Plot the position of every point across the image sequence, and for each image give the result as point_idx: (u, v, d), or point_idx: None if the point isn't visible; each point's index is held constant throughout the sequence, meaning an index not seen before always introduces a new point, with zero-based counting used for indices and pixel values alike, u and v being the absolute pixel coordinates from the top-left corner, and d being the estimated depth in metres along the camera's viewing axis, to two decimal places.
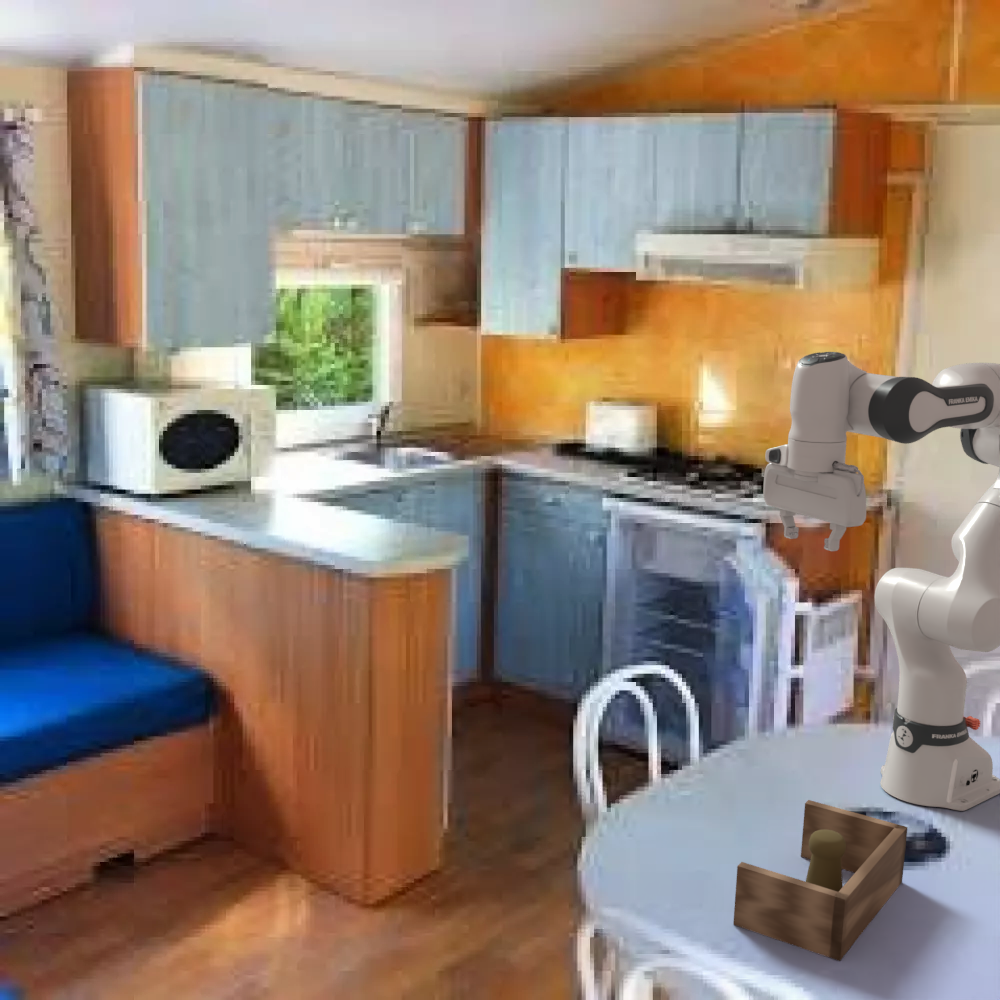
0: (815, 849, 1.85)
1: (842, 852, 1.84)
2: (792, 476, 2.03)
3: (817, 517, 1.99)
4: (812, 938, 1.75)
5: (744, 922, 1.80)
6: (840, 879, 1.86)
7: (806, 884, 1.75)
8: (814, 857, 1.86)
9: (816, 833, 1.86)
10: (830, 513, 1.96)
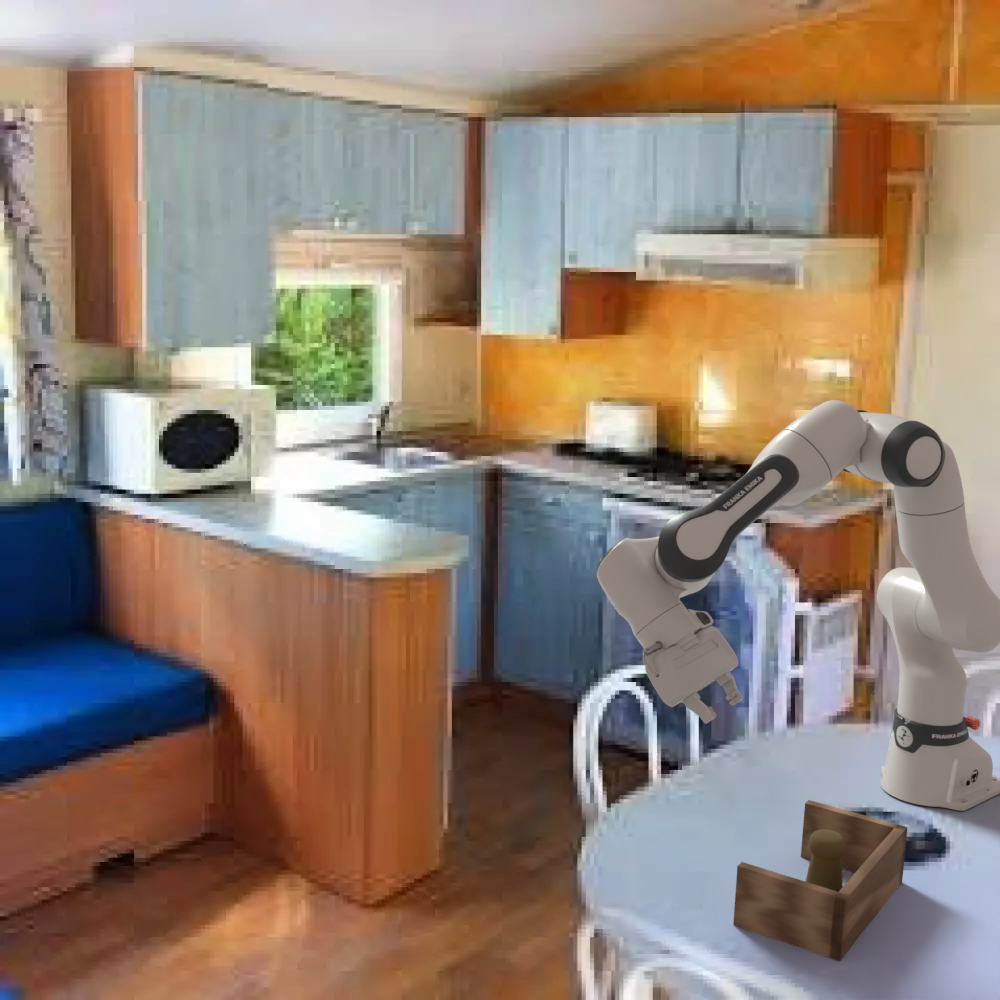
0: (815, 850, 1.85)
1: (842, 852, 1.84)
2: None
3: None
4: (812, 938, 1.75)
5: (744, 922, 1.80)
6: (840, 879, 1.86)
7: (806, 884, 1.75)
8: (814, 857, 1.86)
9: (816, 833, 1.86)
10: None
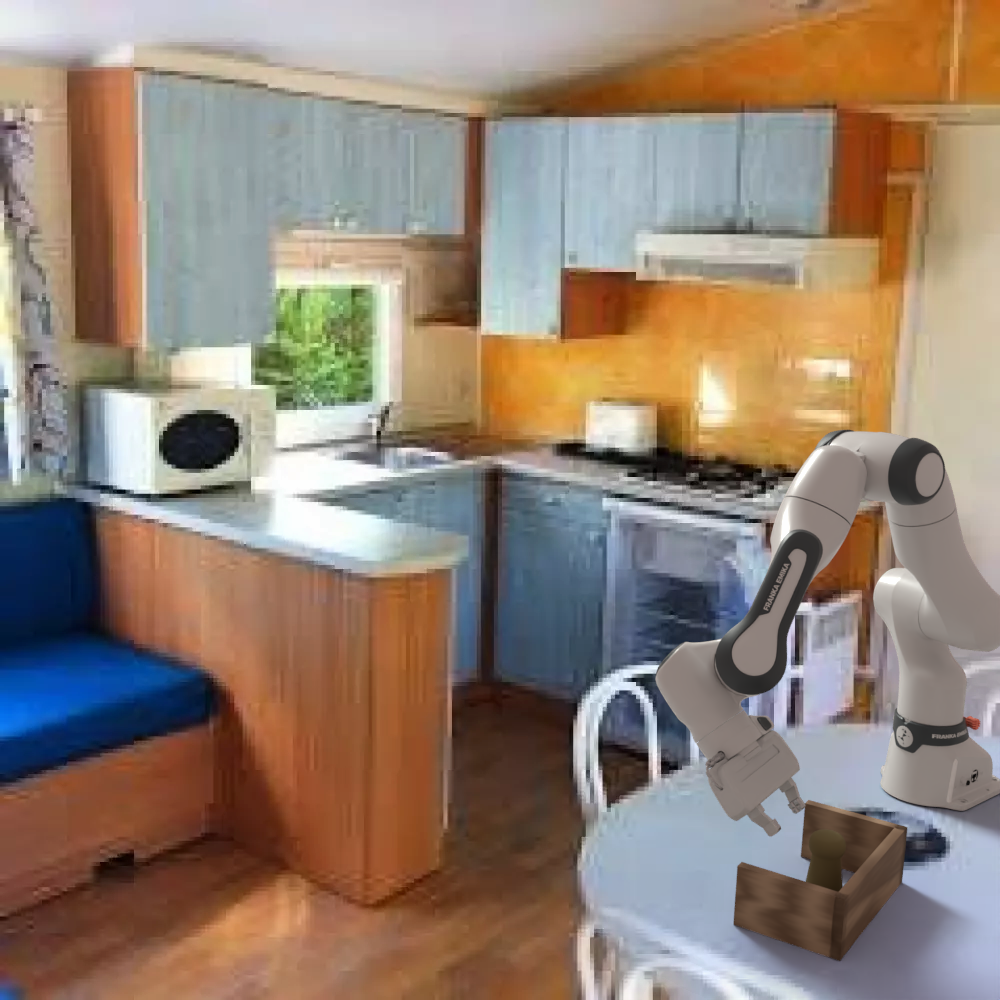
0: (815, 849, 1.85)
1: (842, 852, 1.84)
2: None
3: None
4: (812, 938, 1.75)
5: (744, 922, 1.80)
6: (840, 879, 1.86)
7: (806, 884, 1.75)
8: (814, 857, 1.86)
9: (816, 833, 1.86)
10: None
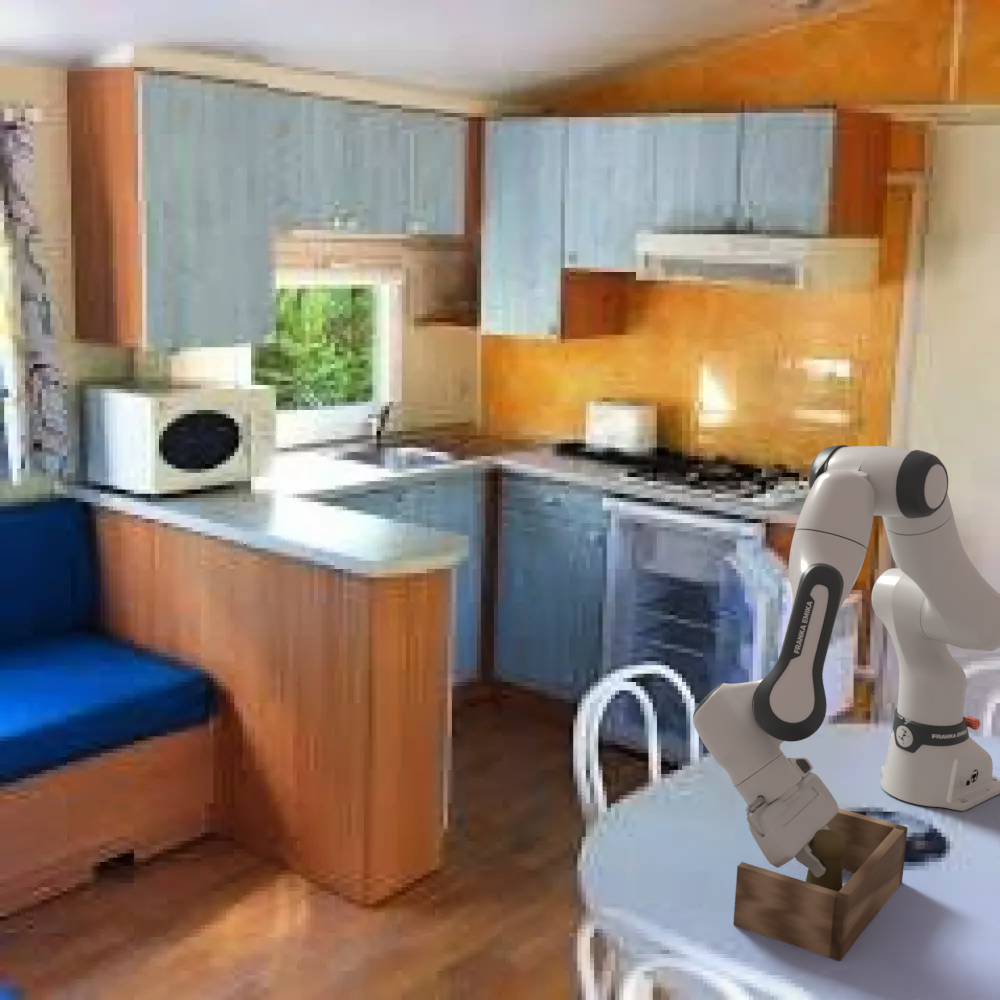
0: (815, 849, 1.85)
1: (842, 852, 1.84)
2: None
3: None
4: (812, 938, 1.75)
5: (744, 922, 1.80)
6: (840, 879, 1.86)
7: (806, 884, 1.75)
8: None
9: (816, 833, 1.86)
10: None
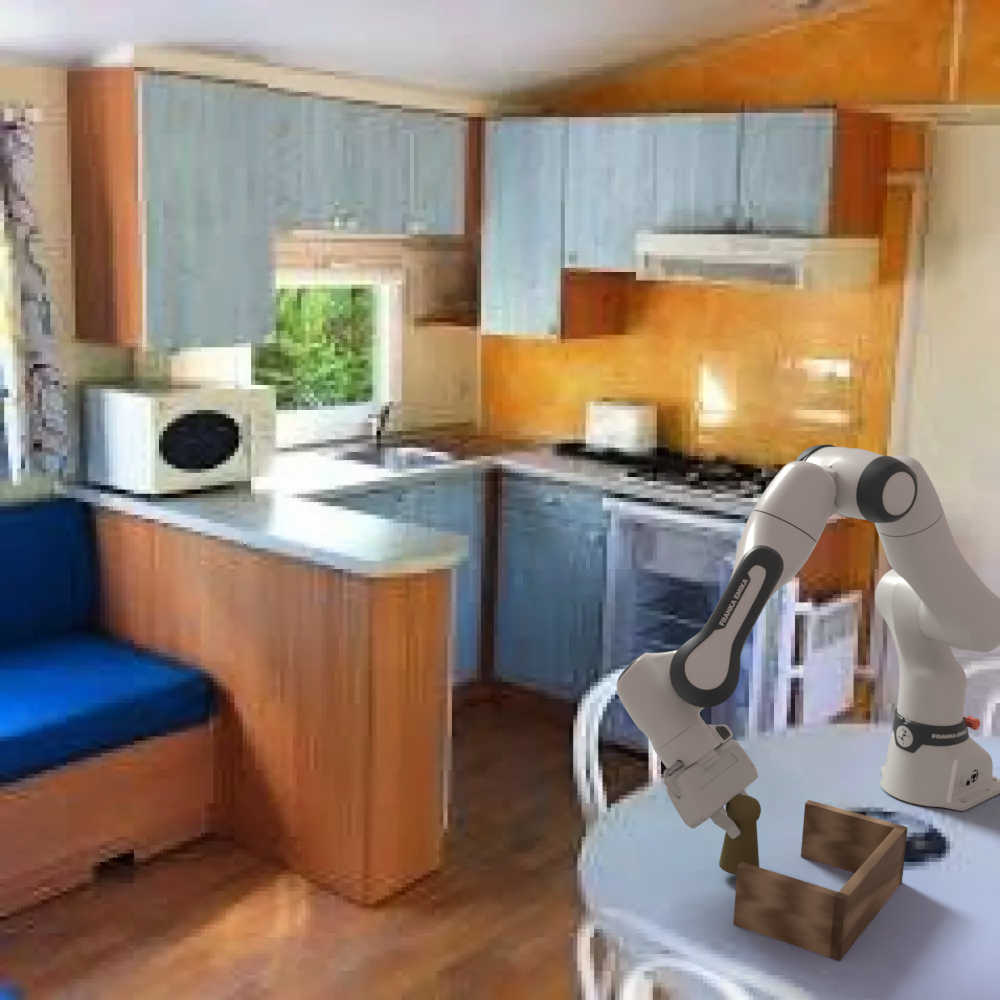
0: (731, 813, 1.91)
1: (757, 816, 1.91)
2: None
3: None
4: (812, 938, 1.75)
5: (744, 922, 1.80)
6: (755, 842, 1.92)
7: (806, 884, 1.75)
8: None
9: (732, 798, 1.93)
10: None
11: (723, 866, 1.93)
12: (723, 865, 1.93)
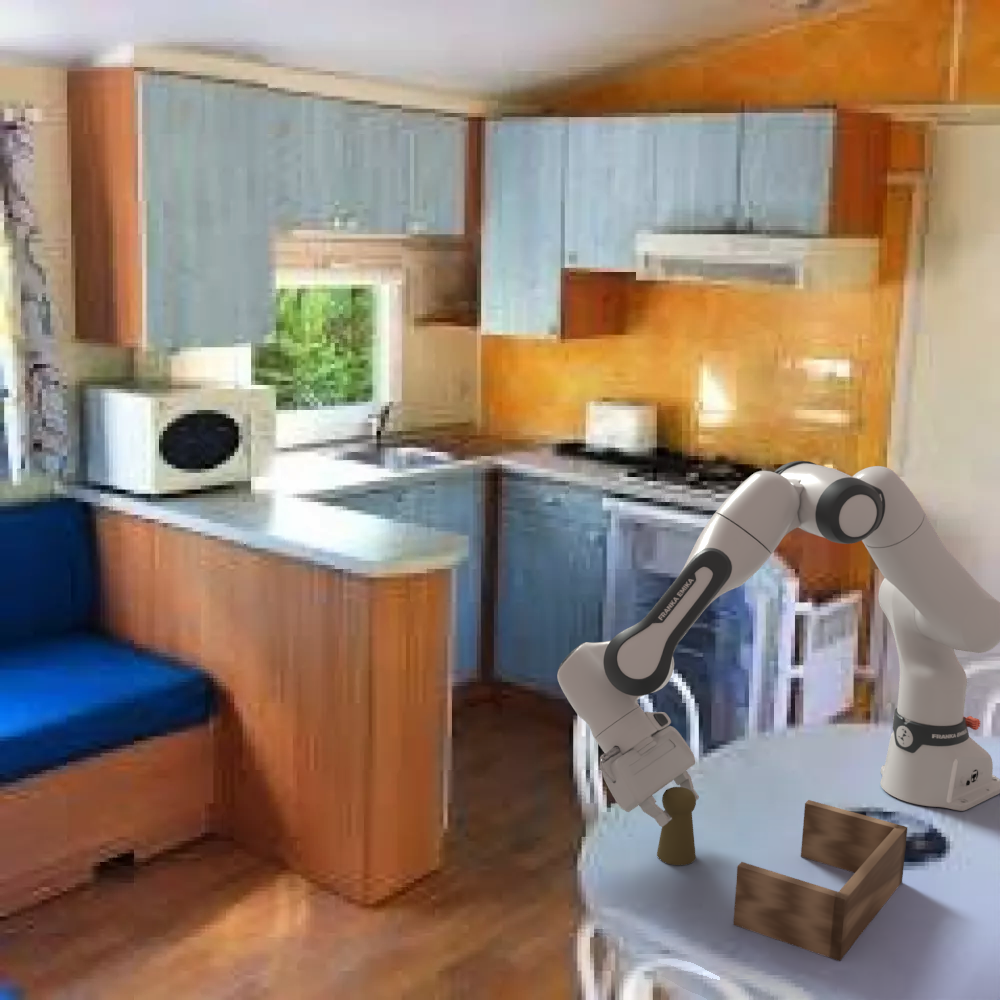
0: (667, 805, 1.98)
1: (691, 807, 1.97)
2: None
3: None
4: (812, 938, 1.75)
5: (744, 922, 1.80)
6: (691, 833, 1.99)
7: (806, 884, 1.75)
8: None
9: (668, 790, 1.99)
10: None
11: (660, 856, 2.00)
12: (660, 855, 2.00)
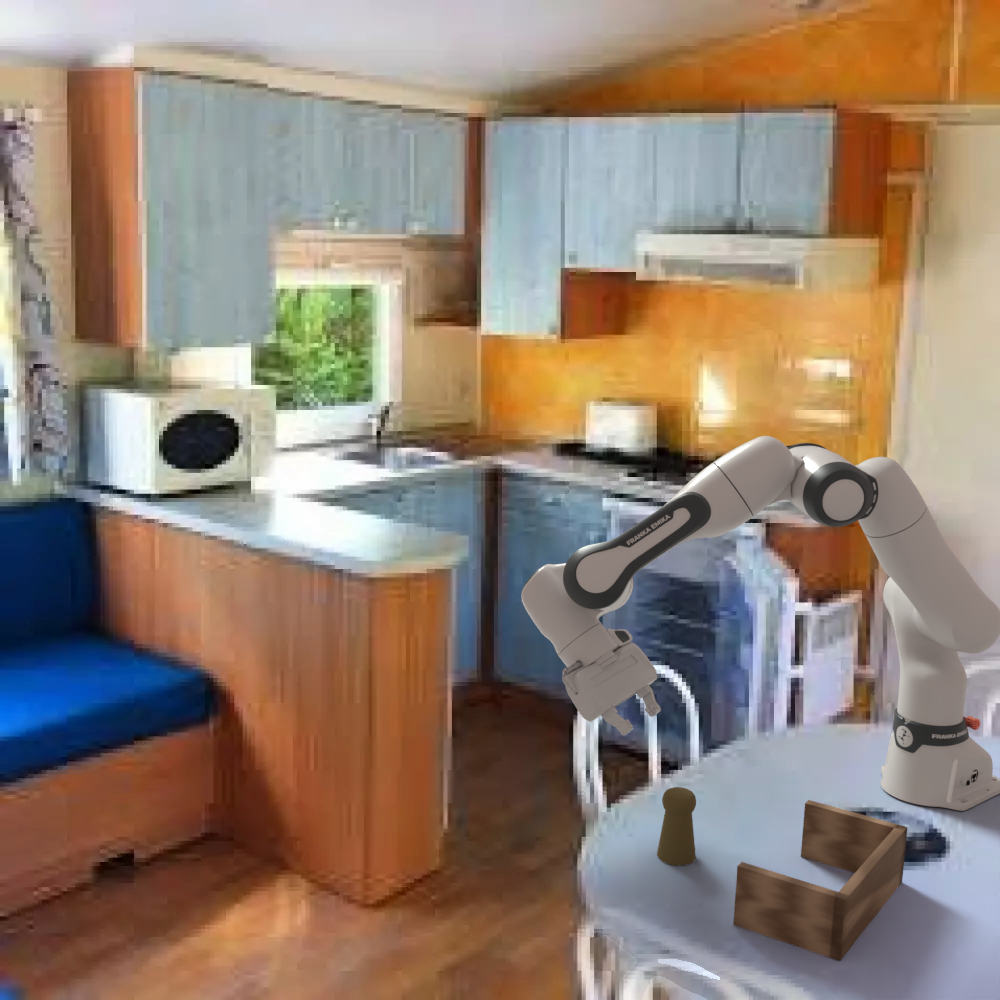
0: (667, 805, 1.98)
1: (692, 807, 1.97)
2: None
3: None
4: (812, 938, 1.75)
5: (744, 922, 1.80)
6: (691, 833, 1.99)
7: (806, 884, 1.75)
8: (667, 813, 1.99)
9: (669, 790, 1.99)
10: None
11: (660, 856, 2.00)
12: (660, 855, 2.00)
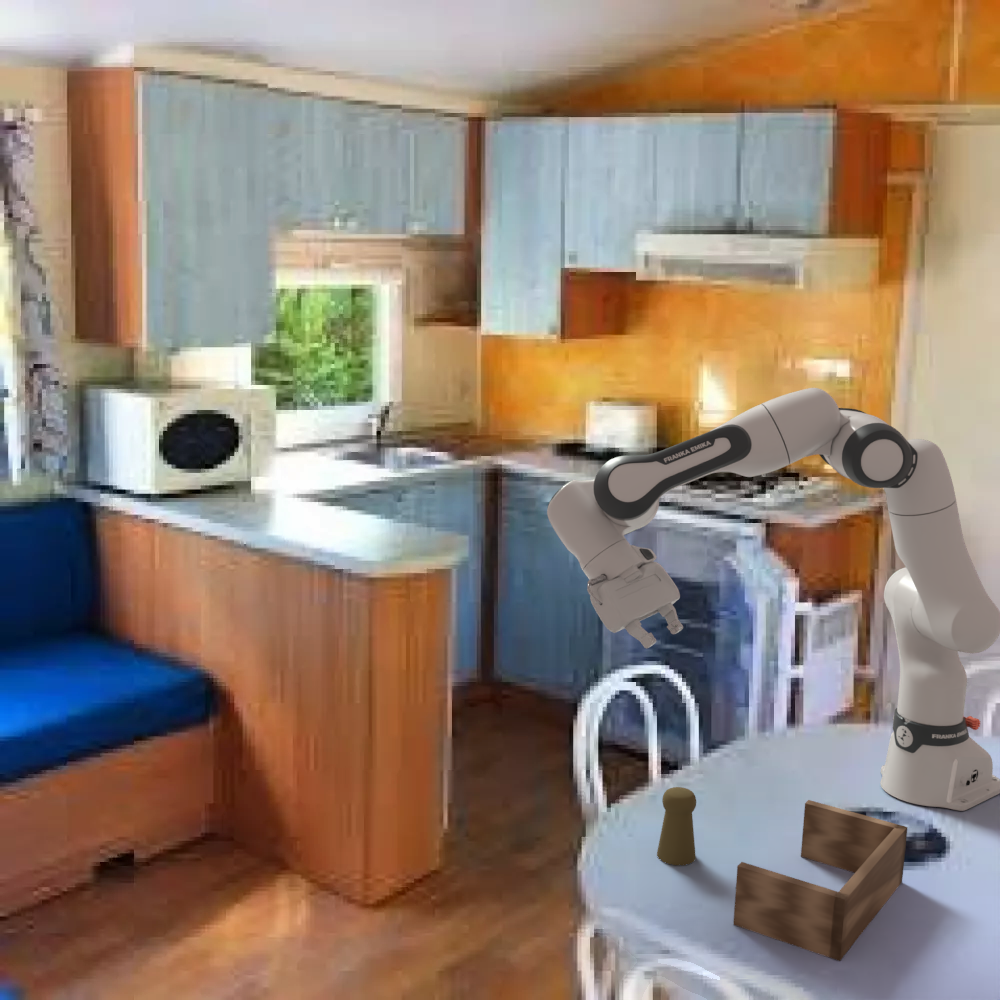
0: (667, 805, 1.98)
1: (692, 807, 1.97)
2: None
3: None
4: (812, 938, 1.75)
5: (744, 922, 1.80)
6: (691, 833, 1.99)
7: (806, 884, 1.75)
8: (667, 812, 1.99)
9: (669, 790, 1.99)
10: None
11: (660, 856, 2.00)
12: (660, 855, 2.00)
